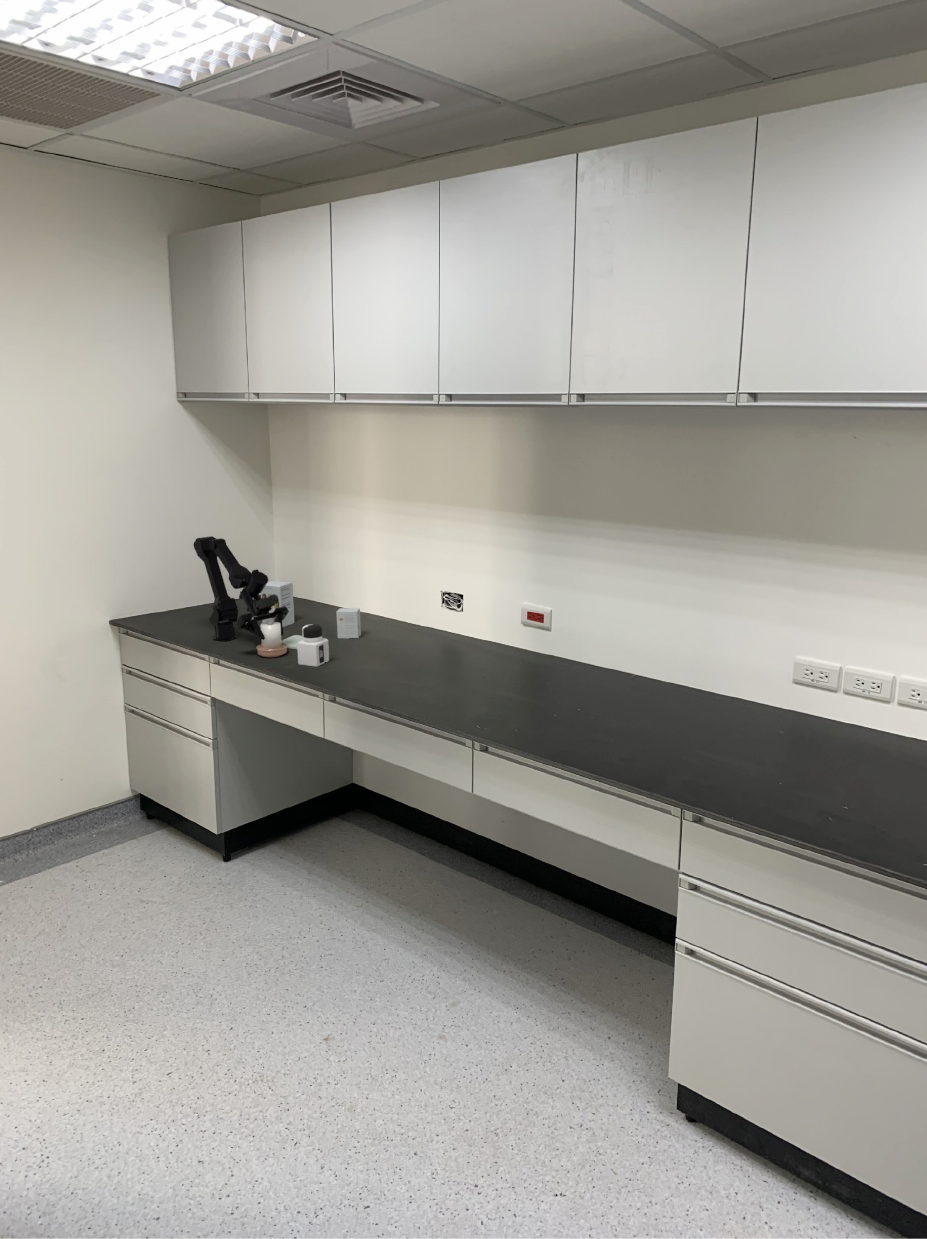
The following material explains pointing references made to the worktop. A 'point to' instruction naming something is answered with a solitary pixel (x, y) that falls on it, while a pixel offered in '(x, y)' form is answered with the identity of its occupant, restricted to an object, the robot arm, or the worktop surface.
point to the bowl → (272, 651)
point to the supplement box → (280, 599)
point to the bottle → (271, 635)
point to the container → (312, 647)
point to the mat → (293, 641)
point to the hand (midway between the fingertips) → (273, 637)
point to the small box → (348, 623)
